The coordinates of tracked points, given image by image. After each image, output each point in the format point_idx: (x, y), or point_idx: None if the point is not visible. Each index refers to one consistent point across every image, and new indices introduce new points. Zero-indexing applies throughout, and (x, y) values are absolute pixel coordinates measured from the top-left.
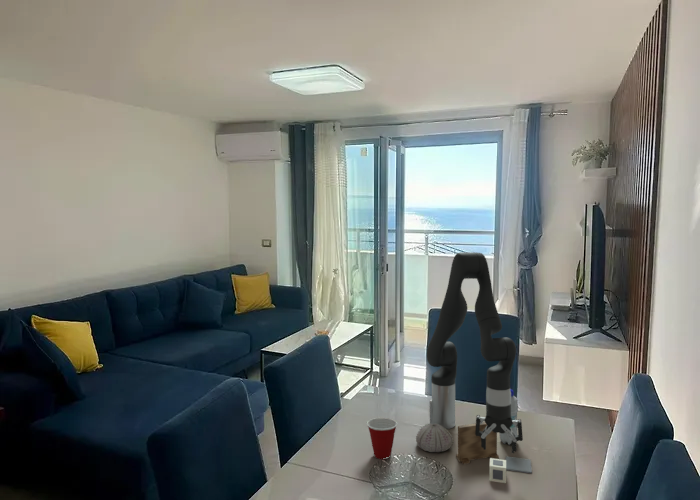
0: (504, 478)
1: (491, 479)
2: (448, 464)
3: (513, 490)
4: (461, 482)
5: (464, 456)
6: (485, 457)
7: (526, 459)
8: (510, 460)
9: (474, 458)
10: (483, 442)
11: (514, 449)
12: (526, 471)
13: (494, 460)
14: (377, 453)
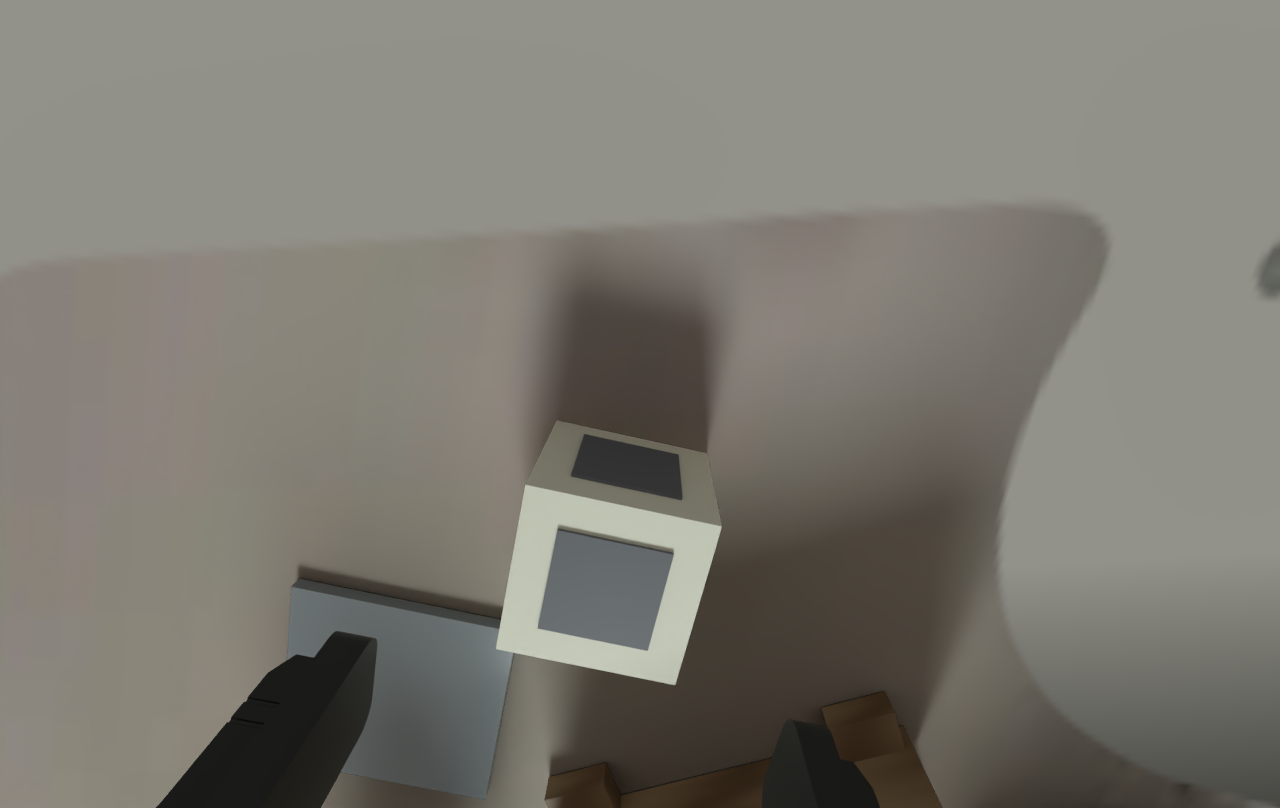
0: (565, 438)
1: (689, 454)
2: (1021, 687)
3: (508, 302)
4: (990, 413)
5: (874, 773)
6: (660, 786)
7: None
8: (454, 744)
9: (764, 768)
10: None
11: (297, 686)
12: (338, 595)
13: (635, 635)
14: None
